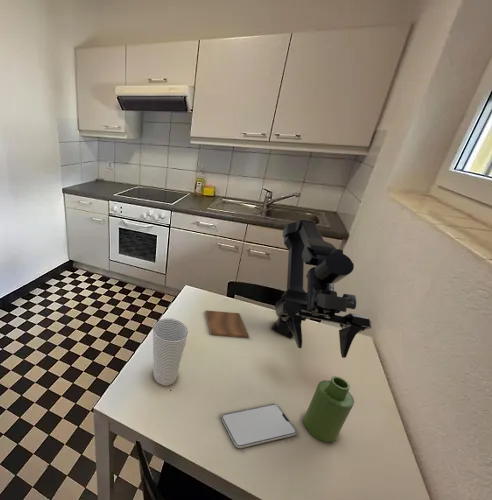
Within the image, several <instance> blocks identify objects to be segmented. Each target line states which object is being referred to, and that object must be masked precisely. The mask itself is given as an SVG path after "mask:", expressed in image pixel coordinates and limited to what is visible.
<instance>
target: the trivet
mask: <svg viewBox="0 0 492 500" xmlns="http://www.w3.org/2000/svg"><path fill="white" fill-rule="evenodd" d="M204 313H205V318H206V321H207V327H208V330H209V334H210V335H211V336H218V337H231V338H241V339H249V336H250V335H249V333H248V331H247V328H246V326H245V324H244V321H243V319H242V317H241V314H240V313H239V312H231V311H229V312H228V311H218V310H205V312H204Z"/></svg>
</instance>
